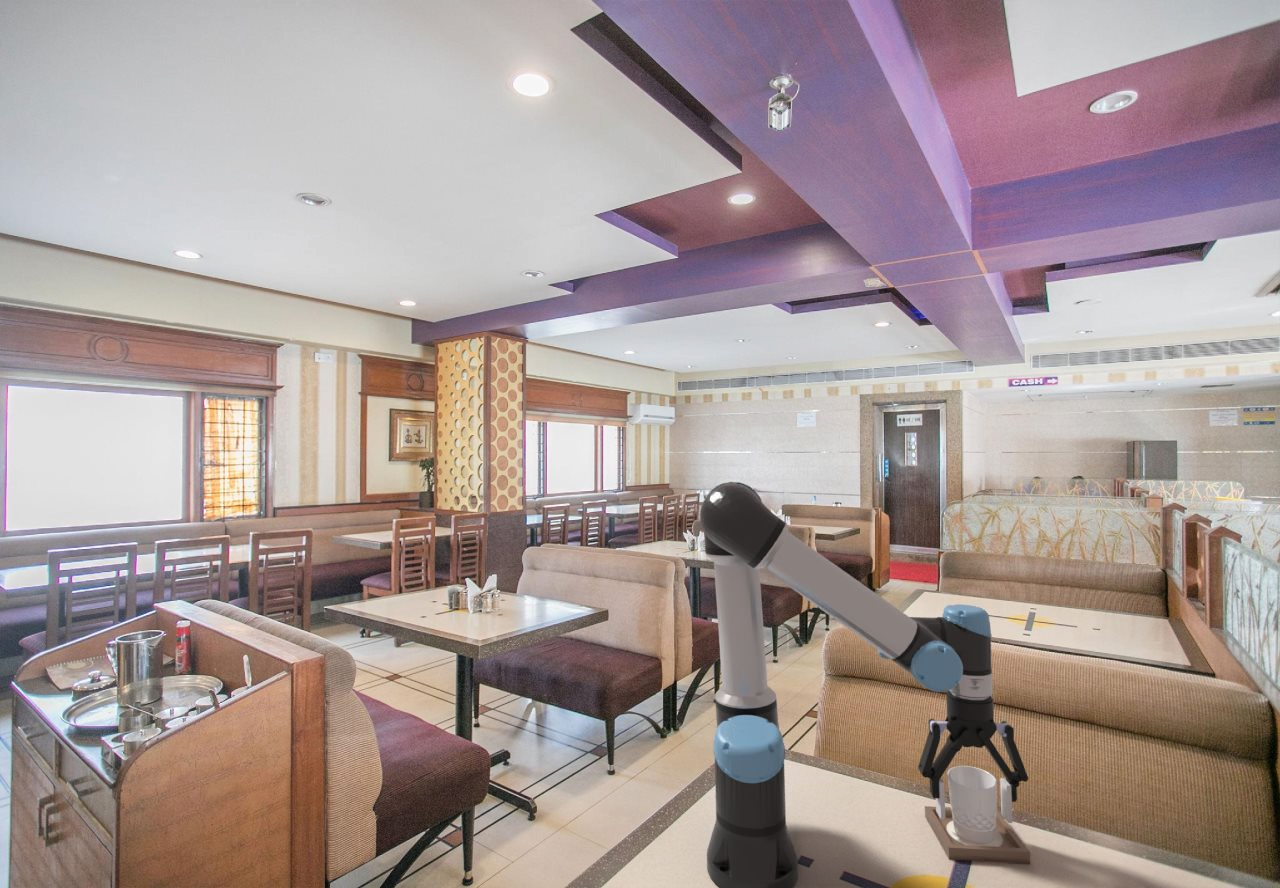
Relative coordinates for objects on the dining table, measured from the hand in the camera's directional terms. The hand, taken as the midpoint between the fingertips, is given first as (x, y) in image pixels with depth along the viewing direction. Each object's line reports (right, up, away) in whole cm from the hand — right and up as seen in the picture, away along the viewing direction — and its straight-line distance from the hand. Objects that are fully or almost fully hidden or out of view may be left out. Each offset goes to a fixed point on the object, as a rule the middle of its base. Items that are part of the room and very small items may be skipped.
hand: (973, 817), depth 114 cm
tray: (0, -4, 0) cm, 4 cm away
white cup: (0, -3, 0) cm, 3 cm away
